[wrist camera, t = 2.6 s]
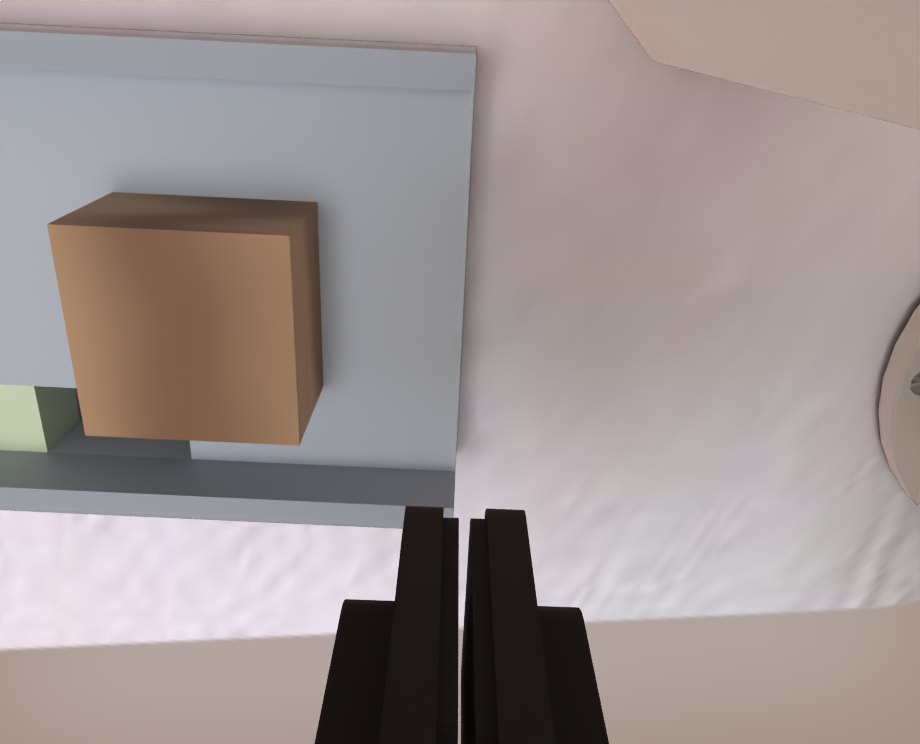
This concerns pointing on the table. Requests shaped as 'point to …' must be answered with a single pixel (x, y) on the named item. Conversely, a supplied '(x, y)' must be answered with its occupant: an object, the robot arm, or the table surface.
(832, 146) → the table surface
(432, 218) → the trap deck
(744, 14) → the milk
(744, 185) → the table surface
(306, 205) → the block
